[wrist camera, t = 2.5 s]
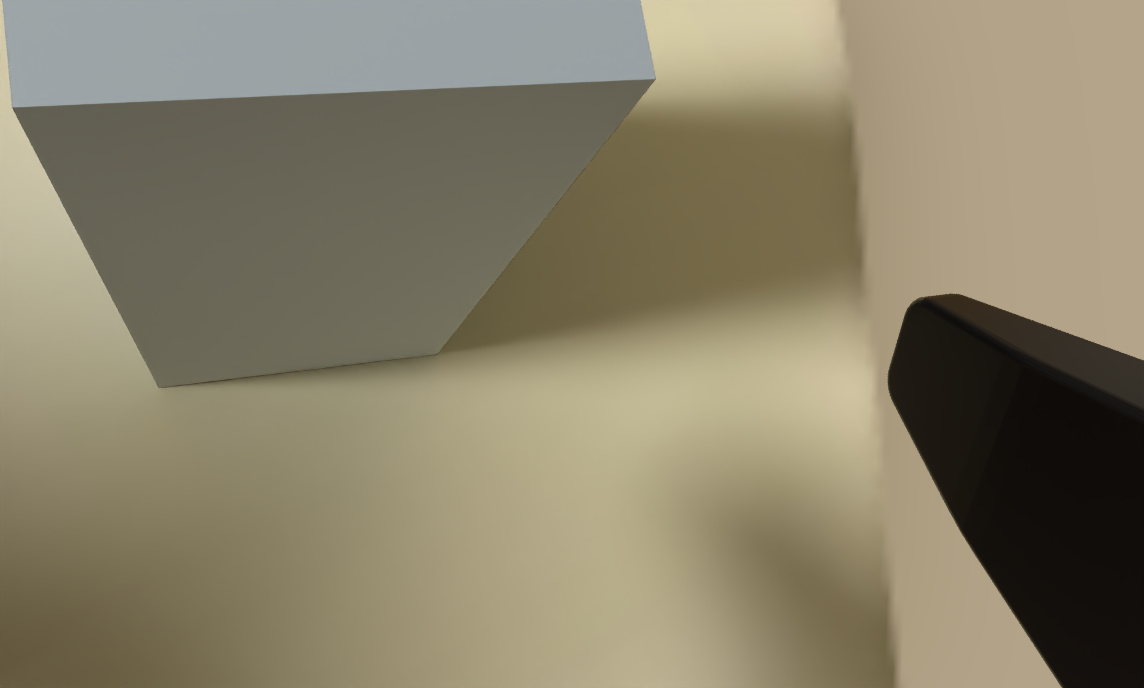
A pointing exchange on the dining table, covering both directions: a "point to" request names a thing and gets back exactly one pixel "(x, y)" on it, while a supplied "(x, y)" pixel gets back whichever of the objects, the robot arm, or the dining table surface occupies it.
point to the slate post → (313, 160)
